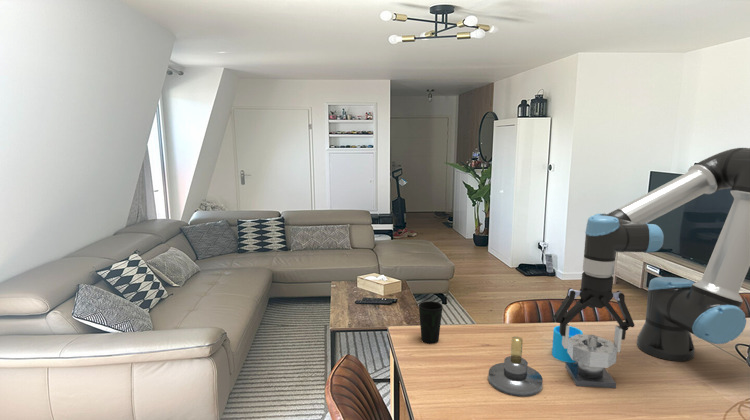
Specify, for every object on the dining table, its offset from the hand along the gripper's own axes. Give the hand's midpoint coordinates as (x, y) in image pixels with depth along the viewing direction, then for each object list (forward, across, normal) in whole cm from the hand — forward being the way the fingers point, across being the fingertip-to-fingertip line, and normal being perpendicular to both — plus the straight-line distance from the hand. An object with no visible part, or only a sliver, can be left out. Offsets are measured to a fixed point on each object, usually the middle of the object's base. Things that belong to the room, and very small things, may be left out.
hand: (590, 348), depth 123 cm
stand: (+9, 0, 0) cm, 9 cm away
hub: (+9, +20, +5) cm, 23 cm away
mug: (+9, +2, -14) cm, 17 cm away
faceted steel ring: (+3, 0, 0) cm, 3 cm away
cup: (+10, +44, -18) cm, 48 cm away
